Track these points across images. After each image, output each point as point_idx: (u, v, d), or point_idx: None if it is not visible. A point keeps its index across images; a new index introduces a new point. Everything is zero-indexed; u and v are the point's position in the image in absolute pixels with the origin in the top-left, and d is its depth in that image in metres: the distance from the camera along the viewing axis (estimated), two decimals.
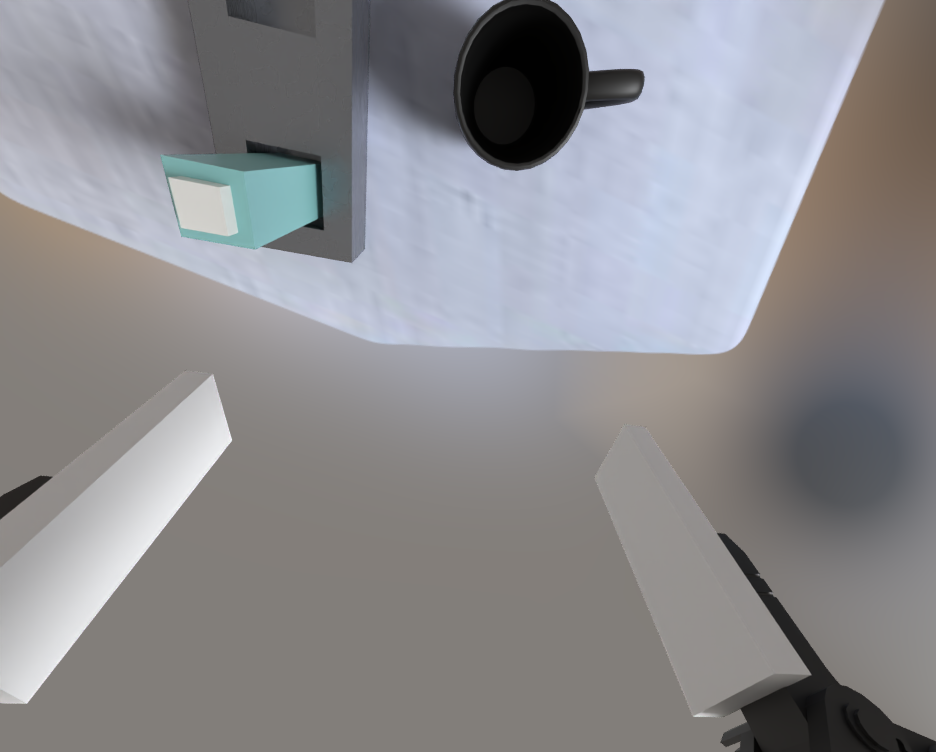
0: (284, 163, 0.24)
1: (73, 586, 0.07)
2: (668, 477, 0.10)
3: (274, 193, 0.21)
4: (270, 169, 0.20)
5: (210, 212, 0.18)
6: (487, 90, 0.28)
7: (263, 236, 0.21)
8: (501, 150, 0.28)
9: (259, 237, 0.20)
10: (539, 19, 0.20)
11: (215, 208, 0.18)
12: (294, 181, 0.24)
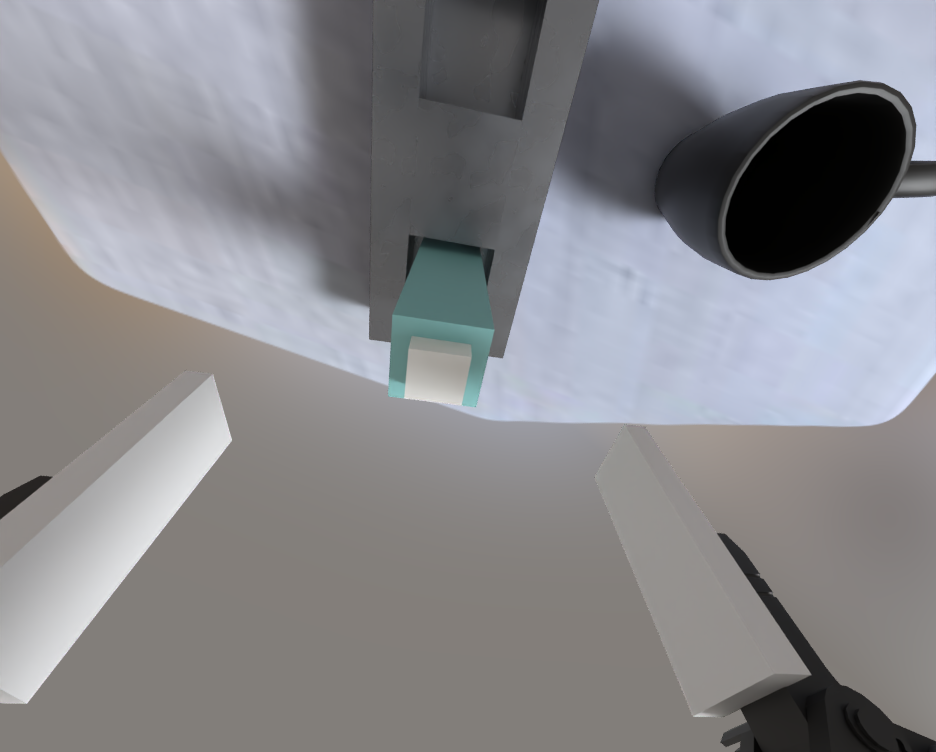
0: (469, 270, 0.19)
1: (73, 586, 0.07)
2: (668, 477, 0.10)
3: None
4: (488, 300, 0.16)
5: (448, 382, 0.14)
6: None
7: None
8: None
9: None
10: (843, 103, 0.15)
11: (457, 378, 0.14)
12: None
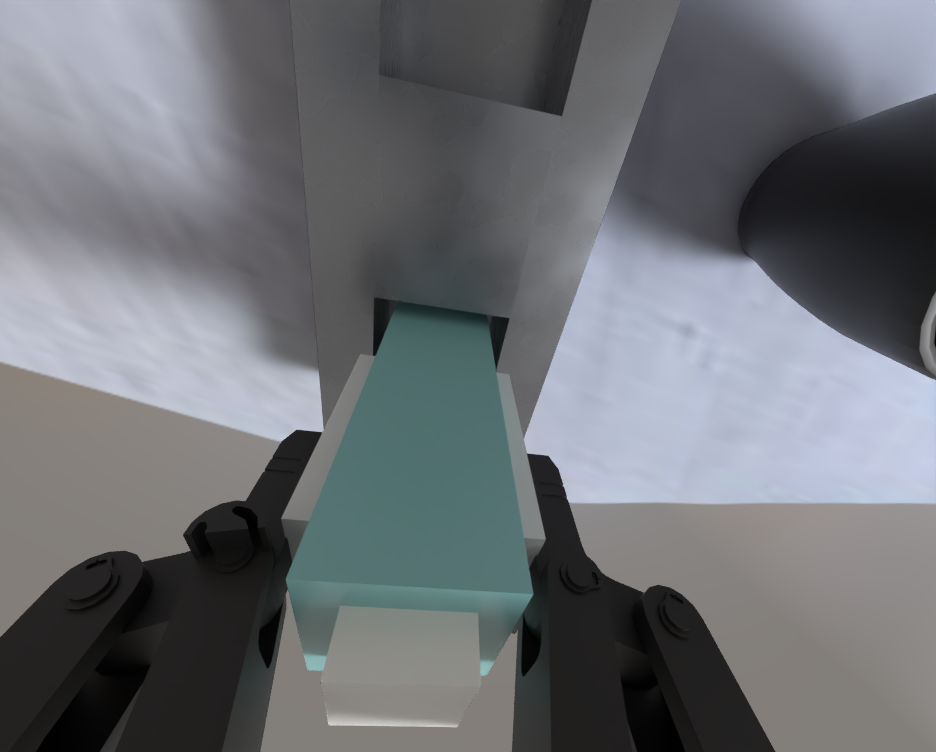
0: (471, 364, 0.12)
1: None
2: (506, 410, 0.11)
3: None
4: (509, 457, 0.08)
5: (426, 710, 0.06)
6: None
7: None
8: None
9: None
10: None
11: (447, 705, 0.06)
12: None
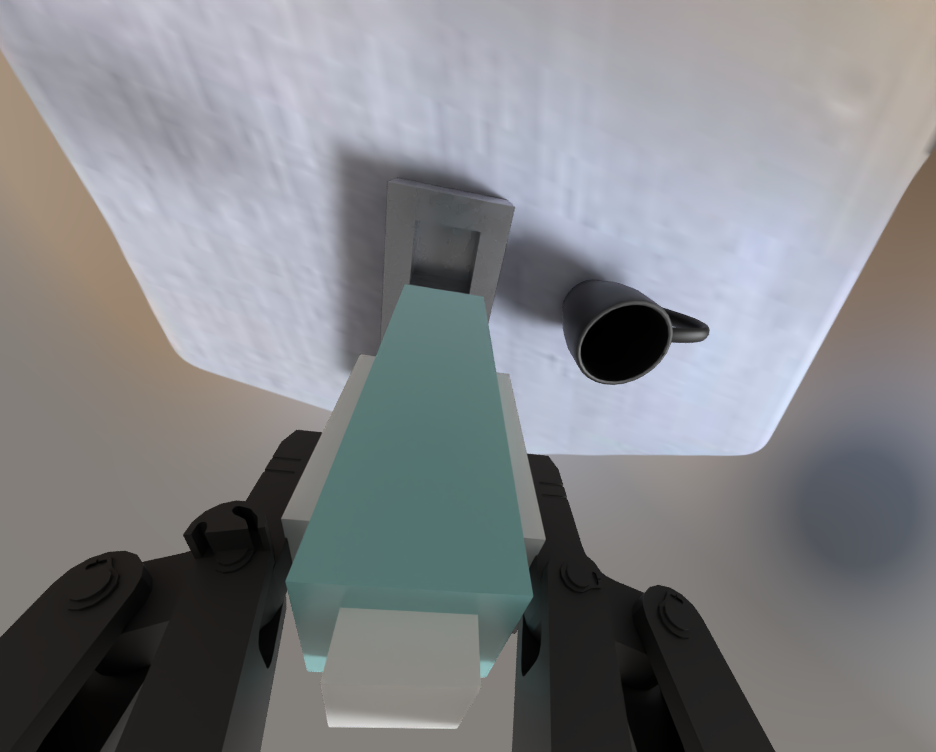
0: (471, 365, 0.12)
1: None
2: (506, 410, 0.11)
3: None
4: (509, 458, 0.08)
5: (426, 712, 0.06)
6: None
7: None
8: (587, 339, 0.37)
9: None
10: None
11: (447, 707, 0.06)
12: None
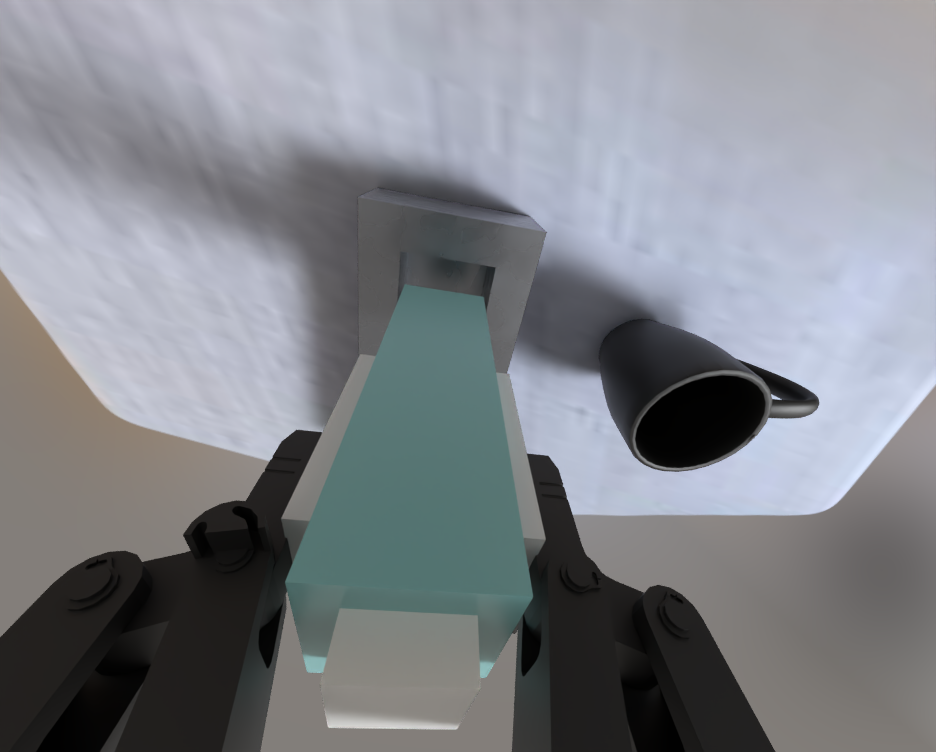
0: (471, 365, 0.12)
1: None
2: (506, 409, 0.11)
3: None
4: (509, 459, 0.08)
5: (425, 713, 0.06)
6: None
7: None
8: None
9: None
10: None
11: (447, 708, 0.06)
12: None
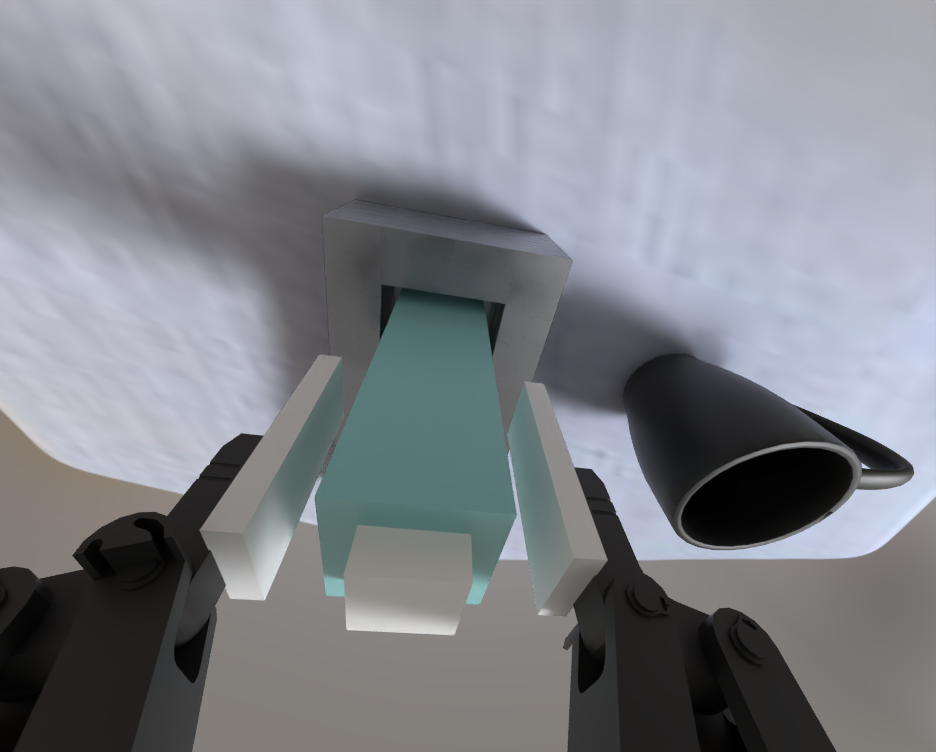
0: (468, 343, 0.13)
1: (284, 516, 0.08)
2: (547, 422, 0.11)
3: None
4: (500, 417, 0.10)
5: (428, 612, 0.07)
6: None
7: None
8: None
9: None
10: None
11: (446, 607, 0.07)
12: None
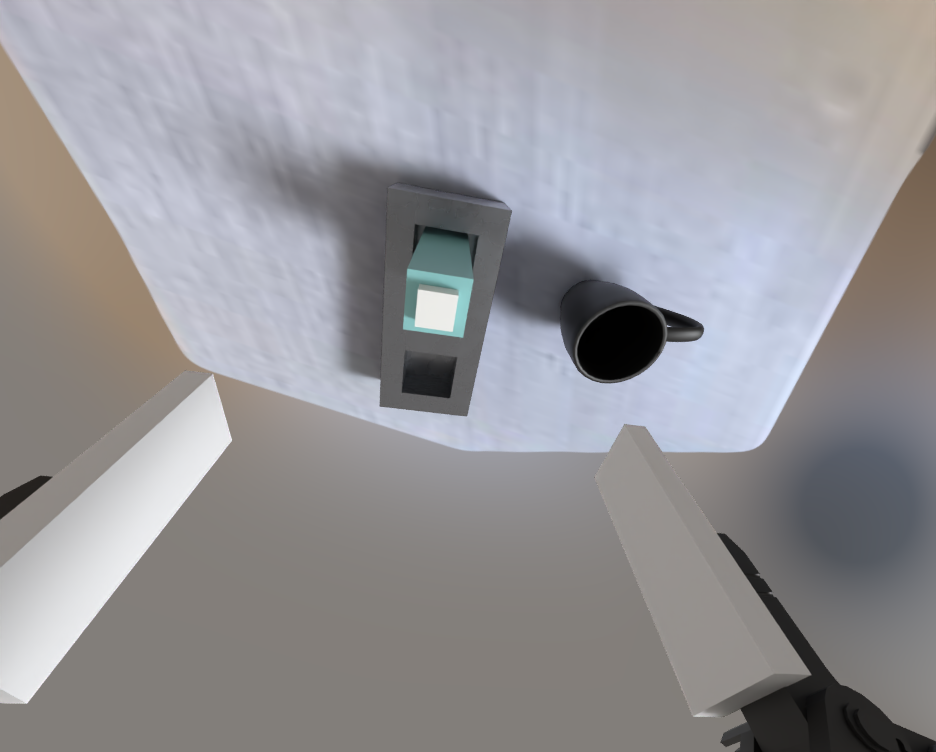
0: (459, 248, 0.27)
1: (73, 586, 0.07)
2: (668, 477, 0.10)
3: None
4: (471, 265, 0.23)
5: (443, 314, 0.21)
6: None
7: None
8: (585, 339, 0.37)
9: None
10: None
11: (449, 311, 0.21)
12: None
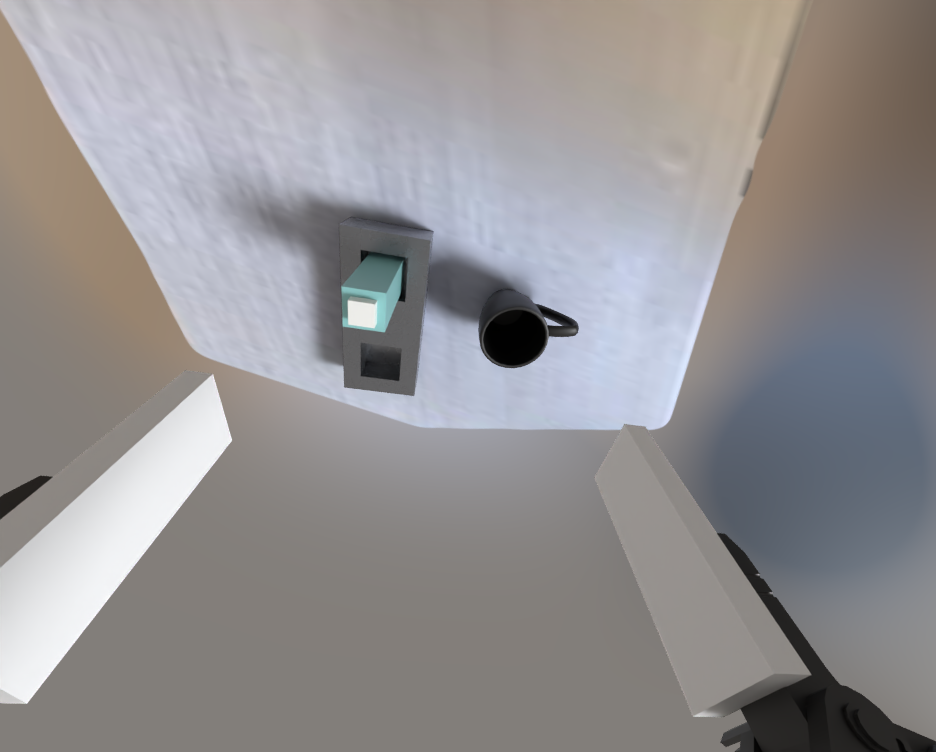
0: (390, 268, 0.37)
1: (73, 586, 0.07)
2: (668, 477, 0.10)
3: (391, 294, 0.35)
4: (391, 282, 0.34)
5: (366, 316, 0.31)
6: None
7: (387, 322, 0.34)
8: (504, 334, 0.48)
9: (386, 324, 0.34)
10: None
11: (370, 314, 0.31)
12: (396, 280, 0.37)
